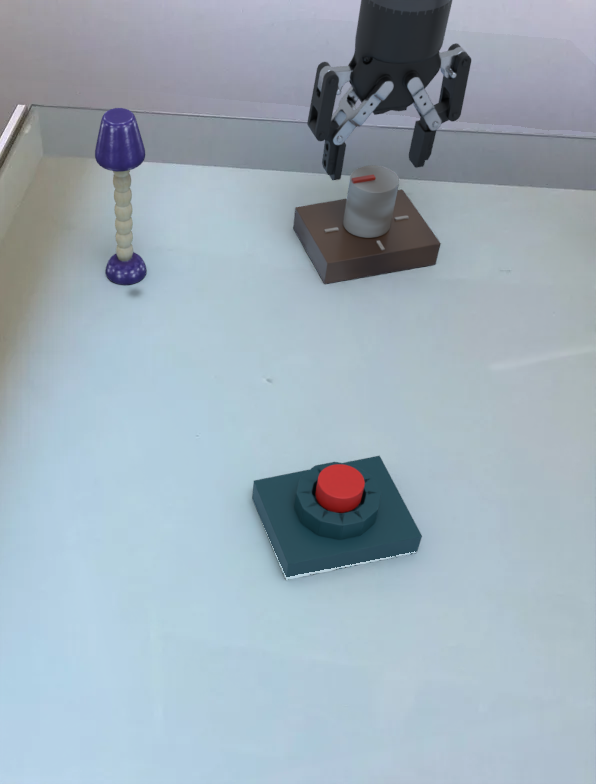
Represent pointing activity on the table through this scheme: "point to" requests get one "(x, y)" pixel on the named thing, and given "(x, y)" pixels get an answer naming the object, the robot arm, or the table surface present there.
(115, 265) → the toy lamp
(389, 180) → the dimmer knob
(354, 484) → the light button
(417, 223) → the dimmer panel
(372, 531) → the switch block
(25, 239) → the table surface
